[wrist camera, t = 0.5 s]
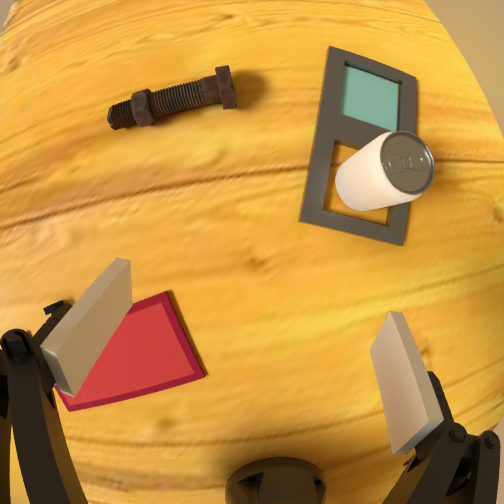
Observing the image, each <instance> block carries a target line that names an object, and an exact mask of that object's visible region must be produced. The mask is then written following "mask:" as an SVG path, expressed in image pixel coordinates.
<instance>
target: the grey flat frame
mask: <svg viewBox="0 0 504 504" xmlns="http://www.w3.org/2000/svg"><path fill="white" fill-rule="evenodd" d="M344 65H346V66H349V67H352V68H355V69H358V70H361V71H364V72H367V73H370V74H372V75H375V76H378V77H380V78H383V79H386V80H388V81H391V82H393V83H396V84H398V85H399V102H398V123H397V131H408V132H411V133H413V134H415V135H416V77H414V76H411V75H409V74H407V73H405V72H402V71H400V70H398V69H395V68H393V67H390V66H388V65H385V64H382V63H380V62H377V61H375V60H372V59H369V58H366V57H363V56H360V55H357V54H354V53H351V52H348V51H345V50H342V49H339V48H335V47H332V46H329V48H328V50H327V56H326V63H325V70H324V76H323V83H322V90H321V96H320V102H319V109H318V115H317V121H316V127H315V133H314V139H313V144H312V150H311V156H310V161H309V167H308V172H307V178H306V183H305V188H304V194H303V199H302V204H301V209H300V214H299V219H298V222H302V223H306V224H311V225H315V226H319V227H324V228H328V229H332V230H336V231H341V232H345V233H349V234H353V235H357V236H361V237H365V238H369V239H373V240H377V241H381V242H385V243H389V244H393V245H397V246H403V241H404V235H405V229H406V223H407V217H408V210H409V202H410V201H409V202H405V203H401V204H397V205H392V206H389V208H388V214H387V220H386V226H383V225H379V224H376V223H372V222H368V221H364V220H360V219H357V218H353V217H349V216H345V215H341V214H337V213H333V212H329V211H325V210H323V205H324V200H325V194H326V189H327V183H328V177H329V171H330V165H331V159H332V153H333V146H334V143H336V144H340V145H343V146H346V147H350V148H353V149H357V150H361V149H362V148H363V147H365V146H366V145H367V144H369V143H370V142H371V141H373V140H374V139H375V138H377V137H378V136H380V135H382V134H384V133H387V132H393V131H390V130H387V129H385V128H382V127H379V126H376V125H373V124H370V123H367V122H364V121H361V120H358V119H355V118H352V117H349V116H345V115H342V114H339V113H338V112H339V104H340V96H341V88H342V80H343V71H344Z"/></svg>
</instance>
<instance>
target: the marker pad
mask: <svg viewBox="0 0 504 504" xmlns="http://www.w3.org/2000/svg"><path fill="white" fill-rule="evenodd" d="M397 102H398V85H397V84H394V83H392V82H389V81H387V80H384V79H382V78H379V77H376V76H373V75H371V74H368V73H365V72H362V71H359V70H356V69H353V68H350V67H347V66H344V71H343V80H342V88H341V96H340V104H339V112H338V113H339V114H342V115H345V116H349V117H352V118H355V119H358V120H361V121H364V122H367V123H370V124H373V125H376V126H379V127H382V128H385V129H387V130H390V131H393V132H395V131H396V122H397Z"/></svg>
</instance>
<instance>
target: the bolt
mask: <svg viewBox="0 0 504 504" xmlns="http://www.w3.org/2000/svg"><path fill="white" fill-rule="evenodd" d="M215 71H216V75H214V76H209V77H205V78H202V79H200V80H197V82H196V81H194V82H193V81H192V82H191V83H190V82H189V83H186V84H184V83H183V84H182V85H181V84H180V85H177V86H174V87H173V86H172V87H171V88H170V87H169V88H166V89H163V90H160V91H159V90H158V91H157V92H156V91H155V93H154V92H151V91H150V90H149V89H145V90H141V91H138V92H135V93H133V94H132V96H131V100H128V101H127V100H126V102H125V101H124V102H121V103H118V104H116V105H113V106H112V107H110V108H109V111H108V116H107V121H108V123H109V124H110V127H111V128H112V129H114V130H117V129H121V128H124V127H127V126H130V125H132V124H138V125H139V126H141V127H145V126H148V125H151V124H154V123H156V122H157V119H158V116H161V115H162V116H163V115H166V114H169V113H172V112H173V113H174V112H177V110H178V111H180V110H181V111H182V110H183V109H184V110H185V109H188V108H191V107H192V108H194V106H195V107H197V106H200V105H201V106H202V105H210V104H215V103H220V102H222V104H223V109H224V110H225V109H230V108H234V107H236V106H237V104H236V97H235V92H234V87H233V82H232V77H231V73H230V69H229V66H221V67H216V68H215Z"/></svg>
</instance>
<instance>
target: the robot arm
mask: <svg viewBox="0 0 504 504" xmlns="http://www.w3.org/2000/svg"><path fill="white" fill-rule="evenodd" d="M132 305H133V301H132V287H131V270H130V261H129V260H125V259H121V258H116V259H115V260H114V261H113V262H112V263H111V264H110V265H109V266H108V267H107V269H106V270H105V271H104V272H103V273H102V274H101V275H100V276H99V277H98V278H97V279H96V280H95V282H94V283H93V284H92V285H91V286H90V287H89V288H88V289H87V290H86V292H85V293H84V294H83V295H82V296H81V297H80V298H79V300H78V301H77V302H76V303H75V304H74V305H71V304H68V303H66V304H64V305H62V306H61V307H59V308H57V309H56V310H55V312H54V313H53V314H52V315H51V317H49V318H48V320H47V321H46V323H44V324H43V325H42V327H41V328H40V329H39V330H38V331H37V333H36V334H35V335H34V336H33V337H32V339H31V340H30V339H29V336H28V334H27V333H26V332H25V331H24V330H22V329H12V330H9V331H7V332H6V333H5V334H4V335H3V336H2V337H1V339H0V345H1V347H2V349H3V350H2V349H0V504H11V502H10V477H9V475H10V474H9V472H10V469H9V468H10V440H11V426H12V427H13V433H14V440H15V445H16V451H17V455H18V460H19V465H20V469H21V473H22V477H23V481H24V485H25V488H26V492H27V495H28V499H29V502H30V504H88V502H87V500H86V497H85V495H84V492H83V490H82V487H81V485H80V482H79V480H78V477H77V474H76V471H75V469H74V466H73V463H72V460H71V457H70V454H69V450H68V447H67V444H66V440H65V437H64V433H63V430H62V426H61V422H60V418H59V414H58V410H57V405H56V401H55V396H54V392H53V390H52V388H53V387H54V385H55V384H57V386H58V388H59V390H60V391H61V392H63V393H65V394H67V395H69V396H71V397H74V398H75V396H76V394H77V393H78V391H79V389H80V387H81V386H82V384H83V382H84V381H85V379H86V377H87V376H88V374H89V372H90V371H91V369H92V367H93V366H94V364H95V362H96V361H97V359H98V358H99V356H100V354H101V353H102V351H103V349H104V348H105V346H106V345H107V343H108V342H109V340H110V338H111V337H112V335H113V334H114V332H115V331H116V329H117V328H118V326H119V324H120V323H121V321H122V320H123V318H124V317H125V315H126V314H127V312H128V311H129V309H130V308H131V306H132ZM370 352H371V356H372V360H373V364H374V368H375V372H376V377H377V381H378V385H379V390H380V394H381V399H382V403H383V408H384V413H385V417H386V422H387V428H388V433H389V438H390V444H391V449H392V455H400V454H408V453H409V452H410V451H411V450H412V449H413V448H414V447H415V451H416V454H415V455H413V456H412V457H411V458H410V459H409V460H407V461H406V462H405V463H404V464H403V465H404V466H405V465H407V464H408V465H407V467H406V468H405V470H404V472H403V473H402V475H401V476H400V478H399V480H398V481H397V483H396V484H395V486H394V487H393V489H392V490H391V492H390V493H389V495H388V496H387V497H386V499H385V500H384V502H383V503H382V504H496V499H497V490H498V481H499V466H500V440H499V438H498V436H497V435H496V434H495V433H494V432H493V431H490V430H487V431H484V432H483V433H482V434H481V435H480V436H474V435H470V434H467V431H466V430H465V428H464V427H463V426H462V425H461V424H458V423H454V420H453V417H452V414H451V411H450V408H449V406H448V403H447V400H446V397H444V396H445V395H444V392H443V390H442V387H441V384H440V381H439V379H438V378H437V377H436V375H435V374H434V373H433V372H432V371H427V370H426V368H425V365H424V362H423V360H422V357H421V355H420V352H419V350H418V348H417V345H416V343H415V340H414V338H413V336H412V333H411V331H410V329H409V326H408V324H407V322H406V319H405V317H404V315H403V313H400V312H393V311H390V312H389V314H388V316H387V318H386V320H385V322H384V324H383V326H382V328H381V330H380V332H379V334H378V336H377V337H376V339H375V341H374V343H373V345H372V347H371V348H370ZM470 473H471V474H470ZM326 493H327V488H326V483H325V480H324V477H323V474H322V473H321V471H320V470H319V469H318V468H317V467H316V466H314V465H313V464H311V463H309V462H306V461H303V460H299V459H294V458H270V459H264V460H260V461H256V462H253V463H250V464H248V465H246V466H244V467H242V468H240V469H239V470H237V471H236V472H235V473H234V474H232V476H231V477H230V478H229V480H228V481H227V484H226V489H225V501H226V504H325V499H326Z"/></svg>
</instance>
